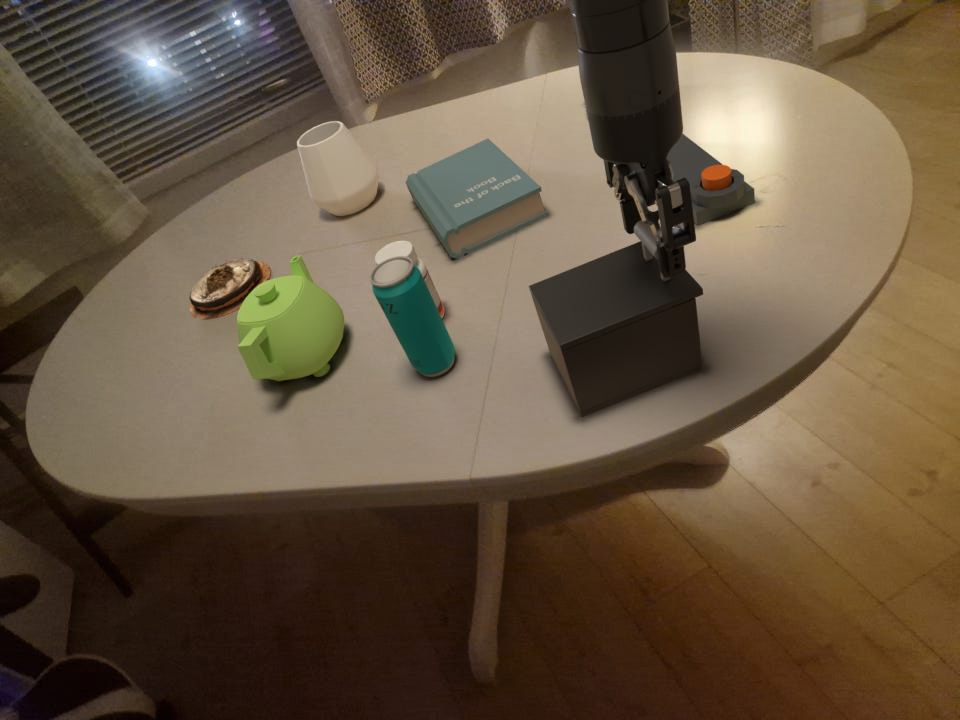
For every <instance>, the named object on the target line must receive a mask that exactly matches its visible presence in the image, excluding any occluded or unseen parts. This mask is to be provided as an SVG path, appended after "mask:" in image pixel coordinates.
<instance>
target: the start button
mask: <svg viewBox="0 0 960 720" xmlns="http://www.w3.org/2000/svg"><path fill="white" fill-rule="evenodd" d="M731 169H732V168H731V167H730V166H728V165H726V164H723V165H713V166H710V167H708V168H706V169H705V170H703V172H702V174H701V176H702V187H703V188H704V189H705V190H707V191H718V190H723V189H725V188H728V187H729V186H730V185H731V183H732V174H731Z"/></svg>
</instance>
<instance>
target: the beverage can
mask: <svg viewBox="0 0 960 720" xmlns="http://www.w3.org/2000/svg"><path fill="white" fill-rule="evenodd" d="M369 282H370V284H371V290H372V293H373V295H374V297H375V299H376V301H377V302H378V304H379V306H380V308H381V310H382V313H383V314H384V316H385V318H386V319H387V321H388V323H389V326H390V327H391V329H392V331H393V333H394V334H395V336H396V338H397V340H398V342H399V344H400V346H401V348H402V350H403V352H404V353H405V355H406V357H407V359H408V361H409V363H410V365H411V366H412V368H413V369H414V370H415V371H416V372H419V373H420V374H421V375H422V376H425V377H429V378H436V377H439V376H442V375H444V374H445V373H447V372H448V371H449V370H450V369H451V368H452V367H453V365H454V363H455V357H456V355H455V353H456V351H455V345H454V342H453V339H452V338H451V336H450V334H449V331H448V329H447V327H446V325H445V323H444V320H443V318H441V316H440V314H439V311H438V309H437V307H436V305H435V303H434V300H433V298H432V296H431V294H430V292H429V289H428V287H427V285H426V283H425V281H424V279H423V276H422V274H421V272H420V270H419V268H417V267H416V266H415V265H414V264H413V261H412V260H411V259H410V258H409V257H406V256H396V257H392V258H389V259H387V260H385V261H383V262H381V263H380V264H378V265H377V264H376V266H375V267H374V268H373V269H372V270H371V271H370V274H369Z"/></svg>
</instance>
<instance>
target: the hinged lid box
mask: <svg viewBox="0 0 960 720" xmlns="http://www.w3.org/2000/svg"><path fill="white" fill-rule="evenodd" d="M530 295H531V298H532V302H533V304H534V305H533V306H534V307H535V311H536V314H537V317H538V320H539V323H540V326H541V329H542V332H543V336H544V339H545V342H546V346H547V349H548V351H549V354H550V357H551V359H552V361H553V363H554V365H555V367H556V369H557V371H558V373H559V375H560V377H561V379H562V381H563V383H564V385H565V387H566V389H567V391H568V393H569V395H570V397H571V399H572V401H573V403H574V405H575V407H576V410H577V411H578V413H579V415H580V417H585V416H587V415H590V414H593V413H595V412H598V411H600V410H602V409H606V408H608V407H610V406H613V405H615V404H618V403H621V402H623V401H625V400H628V399H631V398H634V397H636V396H638V395H641V394H643V393H646V392H649V391H652V390H653V389H656V388H658V387H659V388H660V387H661V386H664V385H667V384H669V383H672V382H675V381H676V380H679V379H681V378H685V377H686V376H689V375H692V374H694V373H697V372H699V371H703V357H702V347H701V337H700V328H699V327H700V326H699V317H698V309H697V299H696V298H697V297H696V298H693V299H691V300H688V301H686V302H683V303H681V304H678V305H676V306H673V307H671V308H668V309H666V310H663V311H661V312H658V313H656V314H653V315H651V316H648V317H646V318H643V319H641V320H638V321H636V322H633V323H631V324H628V325H625V326H623V327H620V328H618V329H615V330H613V331H610V332H608V333H605V334H603V335H600V336H598V337H595V338H593V339H590V340H588V341H585V342H583V343H580V344H578V345H575V346H573V347H570V348H568V349H565V350H563V351H562V350H561V349H560V347H559V345H558V343H557V341H556V340H555V338H554V336H553V334H552V332H551V330H550V328H549V326H548V324H547V322H546V320H545V319H544V317H543V315H542V313H541V311H540V309H539V307H538V305H537V303H536V301H535V299H534V298H533V296H532V294H531V293H530Z"/></svg>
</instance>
